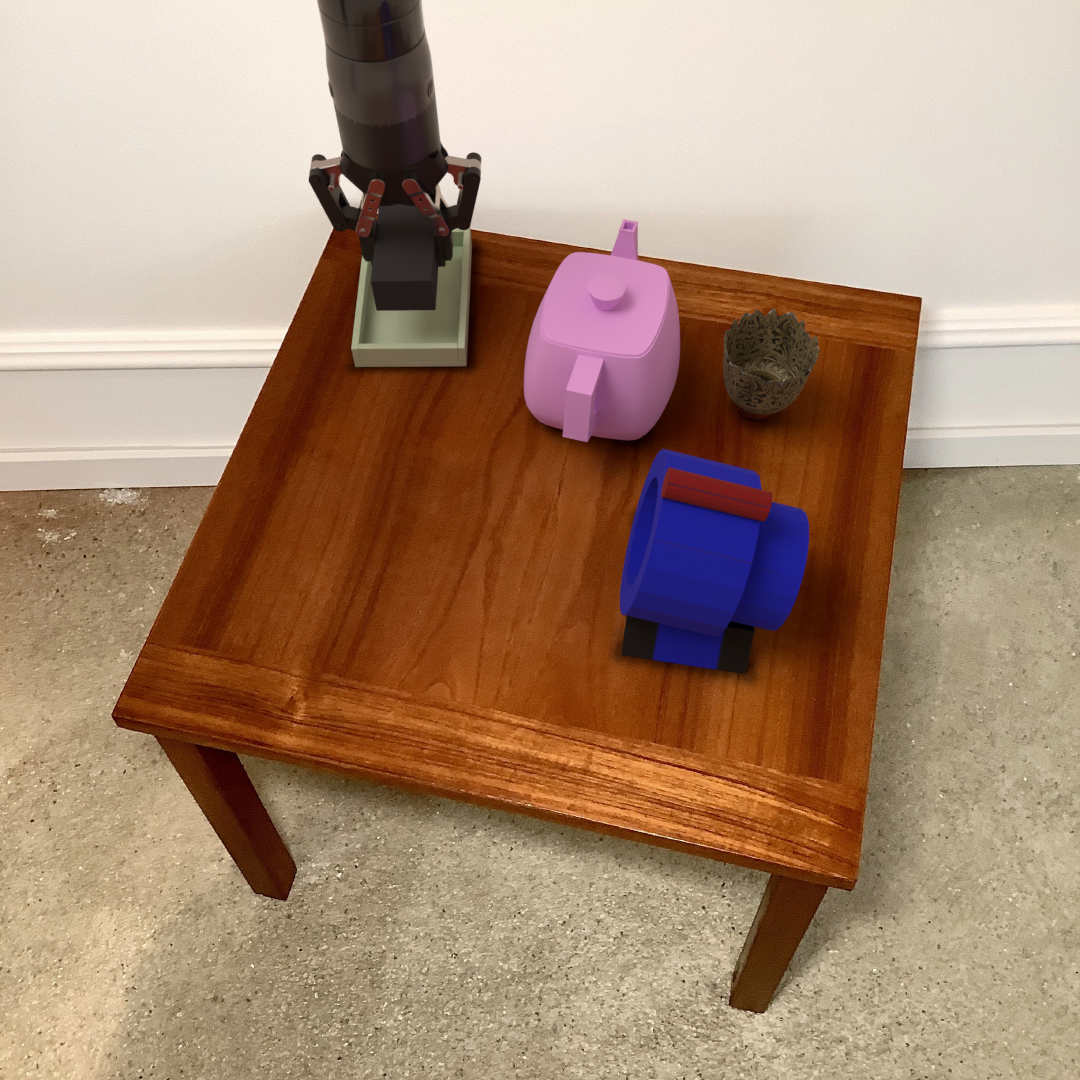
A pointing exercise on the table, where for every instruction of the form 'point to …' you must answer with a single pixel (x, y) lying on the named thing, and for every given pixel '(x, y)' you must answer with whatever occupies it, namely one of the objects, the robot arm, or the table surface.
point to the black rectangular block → (404, 261)
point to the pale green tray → (417, 319)
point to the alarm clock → (708, 564)
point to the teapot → (604, 344)
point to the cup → (767, 362)
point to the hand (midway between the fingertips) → (409, 259)
